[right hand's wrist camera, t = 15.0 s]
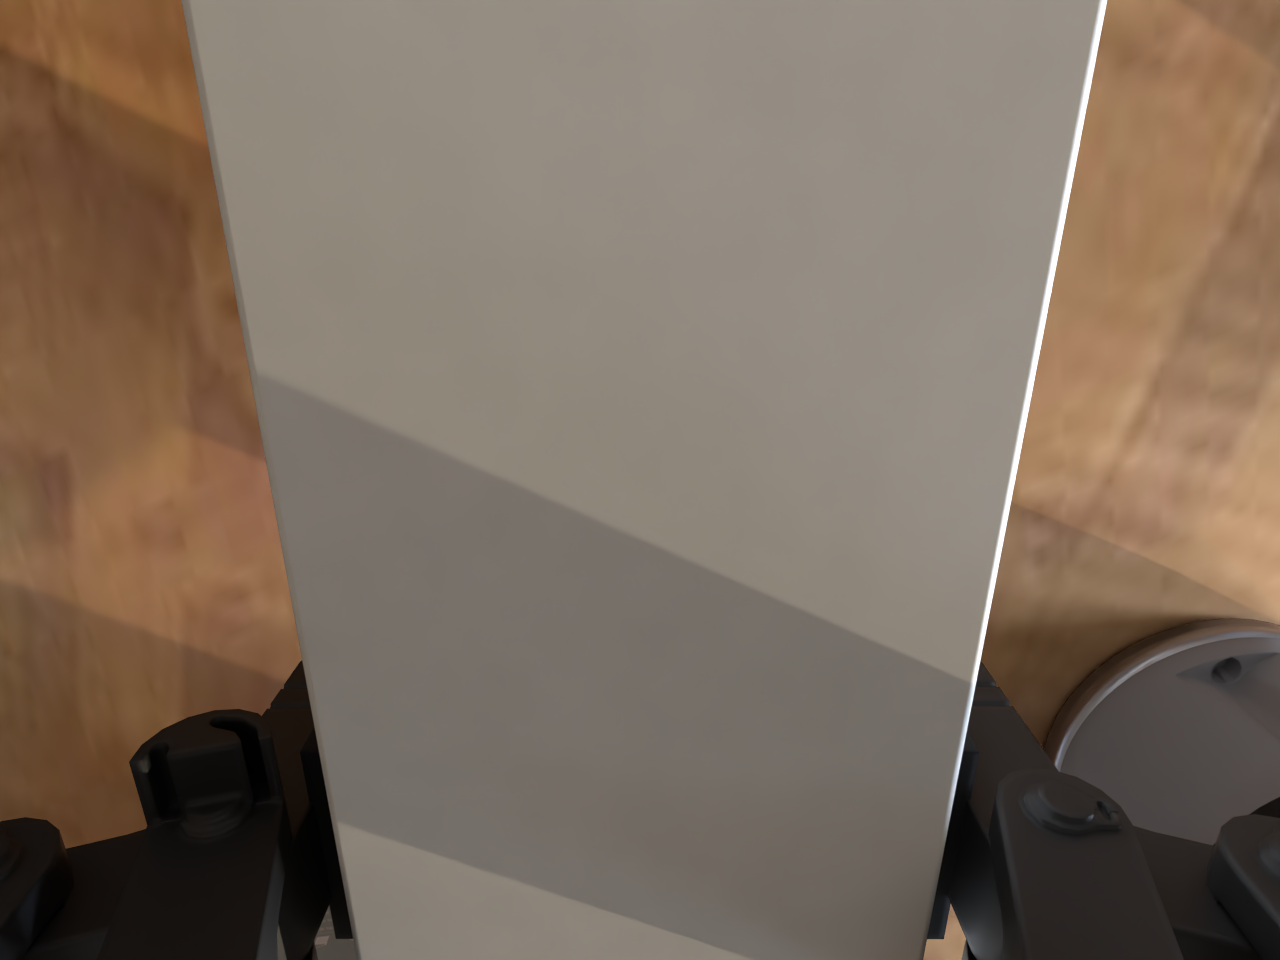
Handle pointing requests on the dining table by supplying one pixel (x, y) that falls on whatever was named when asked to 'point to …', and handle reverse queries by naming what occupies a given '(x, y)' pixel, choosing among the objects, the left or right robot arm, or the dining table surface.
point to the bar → (642, 441)
